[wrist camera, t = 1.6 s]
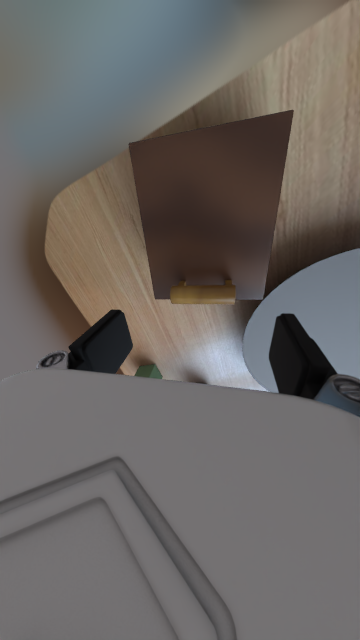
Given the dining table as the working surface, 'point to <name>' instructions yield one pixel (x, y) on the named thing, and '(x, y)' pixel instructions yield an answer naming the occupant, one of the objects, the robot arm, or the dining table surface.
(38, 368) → the robot arm
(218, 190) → the lid
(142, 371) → the block
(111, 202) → the dining table surface
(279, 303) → the flat disc
